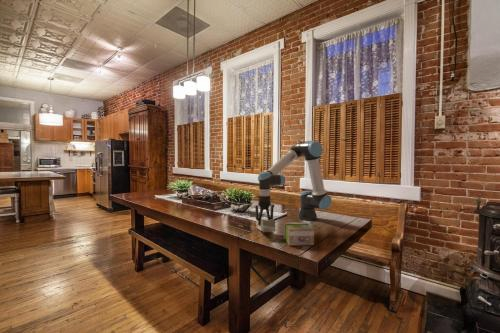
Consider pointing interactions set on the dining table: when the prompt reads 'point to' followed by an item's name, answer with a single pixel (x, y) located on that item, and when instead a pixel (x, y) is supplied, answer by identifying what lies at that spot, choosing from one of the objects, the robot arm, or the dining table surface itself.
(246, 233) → the dining table surface
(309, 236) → the tea box
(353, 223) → the dining table surface
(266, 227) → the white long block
